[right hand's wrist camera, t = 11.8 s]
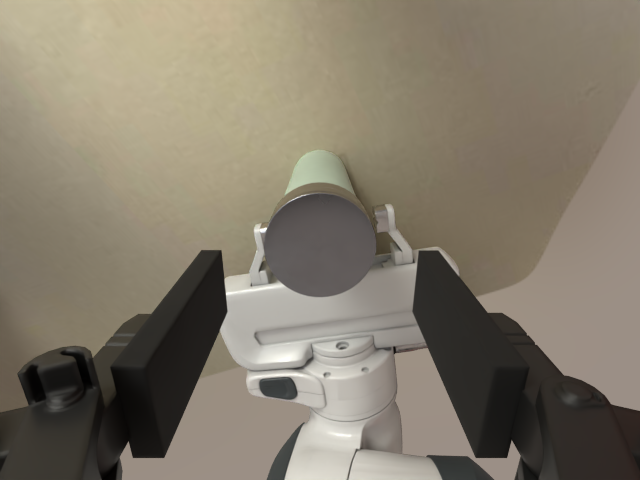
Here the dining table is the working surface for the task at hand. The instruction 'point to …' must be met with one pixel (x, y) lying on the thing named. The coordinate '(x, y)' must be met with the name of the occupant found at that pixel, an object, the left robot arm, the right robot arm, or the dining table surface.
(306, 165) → the green bottle
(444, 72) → the dining table surface
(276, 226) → the lid
